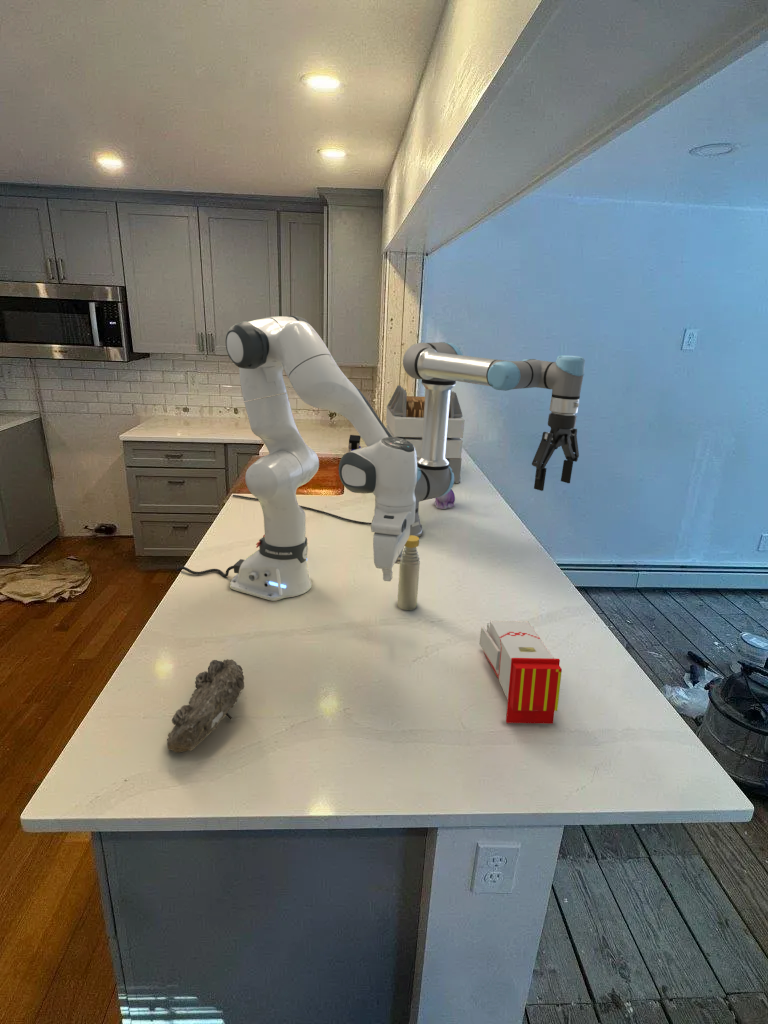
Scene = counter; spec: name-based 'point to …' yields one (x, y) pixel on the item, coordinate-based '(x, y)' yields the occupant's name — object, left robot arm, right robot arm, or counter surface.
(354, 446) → the figurine character
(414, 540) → the cap
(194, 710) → the fossil
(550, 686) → the toy
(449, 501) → the figurine
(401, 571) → the bottle
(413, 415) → the white storage drawers
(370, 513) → the counter surface
